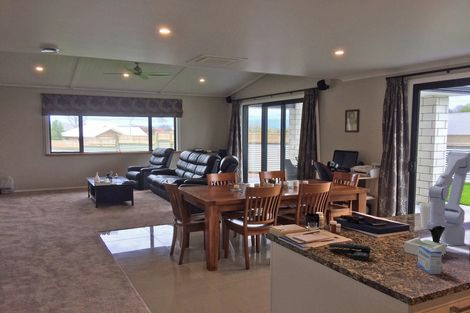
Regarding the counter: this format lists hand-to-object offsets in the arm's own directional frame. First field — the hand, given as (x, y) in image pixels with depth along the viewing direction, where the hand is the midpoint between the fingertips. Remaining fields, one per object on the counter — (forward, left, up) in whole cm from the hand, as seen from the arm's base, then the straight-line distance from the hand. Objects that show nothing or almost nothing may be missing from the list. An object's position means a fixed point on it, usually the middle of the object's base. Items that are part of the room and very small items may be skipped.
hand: (435, 242), depth 164 cm
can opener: (+44, +1, -4) cm, 44 cm away
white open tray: (+9, +4, -3) cm, 11 cm away
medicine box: (+22, +22, -3) cm, 31 cm away
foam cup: (-23, -32, -3) cm, 39 cm away
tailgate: (+4, +2, -1) cm, 5 cm away
